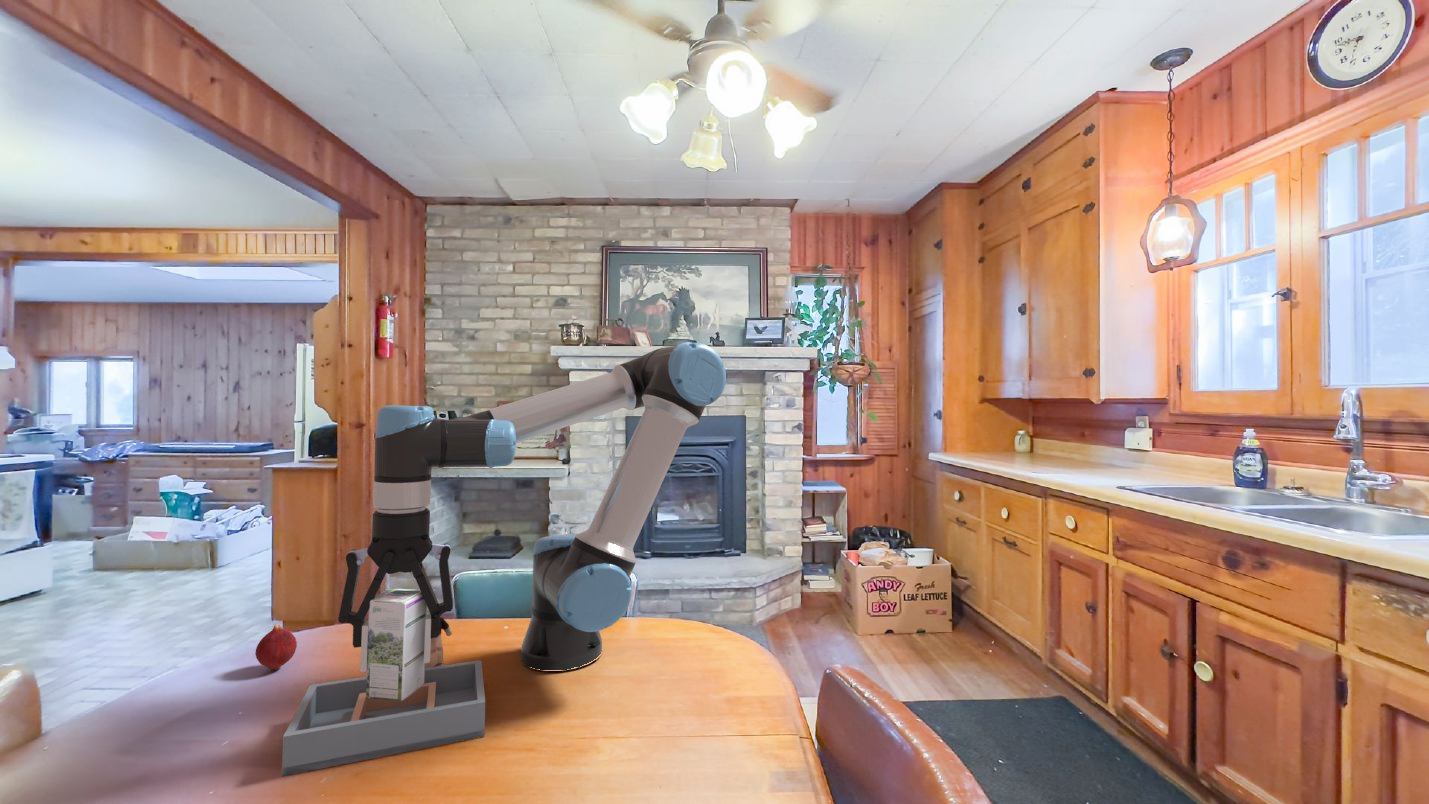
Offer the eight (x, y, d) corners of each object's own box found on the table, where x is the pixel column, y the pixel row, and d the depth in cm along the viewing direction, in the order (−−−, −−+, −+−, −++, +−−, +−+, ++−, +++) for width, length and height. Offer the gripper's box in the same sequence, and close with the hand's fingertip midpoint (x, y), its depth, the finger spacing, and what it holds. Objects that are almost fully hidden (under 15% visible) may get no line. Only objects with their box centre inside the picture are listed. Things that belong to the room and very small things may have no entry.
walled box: (480, 689, 97) (481, 660, 97) (484, 736, 83) (485, 701, 83) (309, 718, 87) (310, 684, 87) (281, 776, 73) (283, 736, 73)
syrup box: (425, 683, 88) (429, 588, 88) (400, 703, 82) (404, 600, 82) (390, 681, 88) (394, 586, 89) (363, 700, 82) (367, 598, 83)
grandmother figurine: (436, 660, 108) (438, 592, 108) (454, 662, 107) (456, 594, 107) (404, 678, 100) (406, 605, 101) (422, 681, 99) (424, 607, 99)
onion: (303, 665, 104) (305, 621, 104) (269, 679, 99) (271, 632, 99) (281, 660, 106) (283, 616, 106) (247, 673, 101) (248, 627, 101)
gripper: (475, 502, 93) (470, 644, 93) (326, 507, 85) (320, 663, 84) (476, 509, 86) (471, 663, 86) (314, 516, 78) (308, 686, 78)
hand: (396, 663), depth 85 cm, fingers closed on syrup box, 7 cm apart
